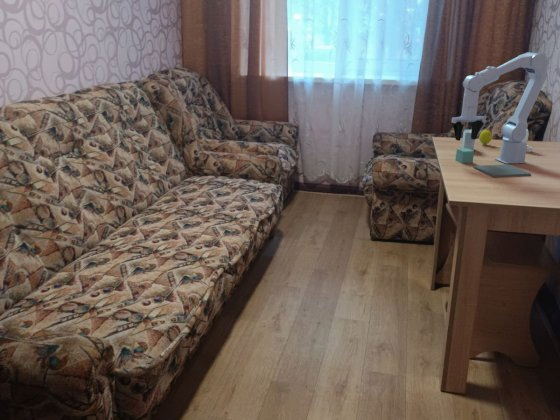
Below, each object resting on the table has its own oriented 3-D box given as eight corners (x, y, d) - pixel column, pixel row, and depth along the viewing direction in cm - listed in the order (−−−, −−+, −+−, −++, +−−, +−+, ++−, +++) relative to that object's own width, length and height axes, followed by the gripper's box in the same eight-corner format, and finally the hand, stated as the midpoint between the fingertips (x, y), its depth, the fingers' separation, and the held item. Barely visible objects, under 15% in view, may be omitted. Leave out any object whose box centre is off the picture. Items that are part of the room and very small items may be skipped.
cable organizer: (532, 151, 243) (536, 130, 240) (510, 151, 243) (514, 129, 240) (527, 149, 248) (531, 127, 245) (505, 148, 248) (509, 127, 245)
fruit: (477, 145, 253) (480, 128, 250) (478, 143, 258) (481, 126, 255) (490, 146, 251) (492, 129, 248) (491, 144, 256) (493, 127, 253)
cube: (466, 160, 227) (467, 148, 225) (472, 162, 222) (474, 151, 220) (455, 160, 225) (456, 148, 224) (461, 163, 221) (463, 151, 219)
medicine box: (473, 152, 240) (476, 133, 237) (463, 151, 241) (465, 132, 238) (471, 148, 247) (473, 129, 244) (461, 147, 248) (463, 129, 245)
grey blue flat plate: (508, 166, 218) (508, 164, 217) (530, 175, 205) (531, 173, 204) (472, 167, 214) (473, 165, 214) (493, 177, 201) (493, 175, 201)
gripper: (478, 104, 221) (474, 136, 226) (448, 105, 217) (444, 138, 221) (489, 106, 215) (485, 140, 219) (459, 108, 210) (455, 142, 215)
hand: (465, 139), depth 220 cm, fingers open, 7 cm apart
